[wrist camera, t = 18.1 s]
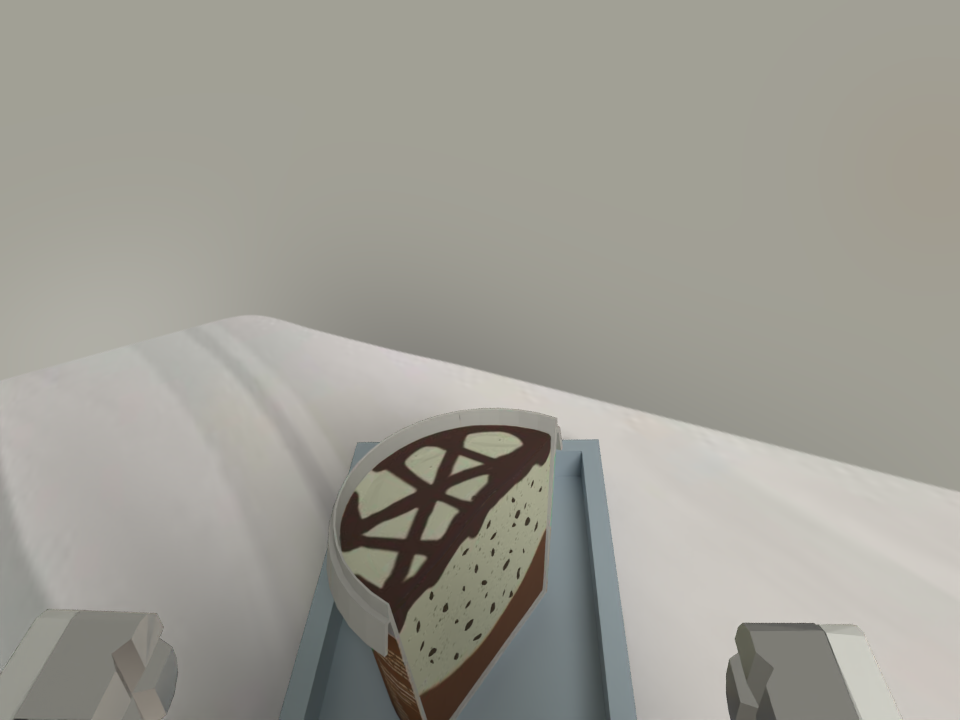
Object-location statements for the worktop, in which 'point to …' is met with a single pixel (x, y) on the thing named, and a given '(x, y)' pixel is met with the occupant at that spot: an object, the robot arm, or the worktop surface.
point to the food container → (445, 550)
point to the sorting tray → (534, 650)
